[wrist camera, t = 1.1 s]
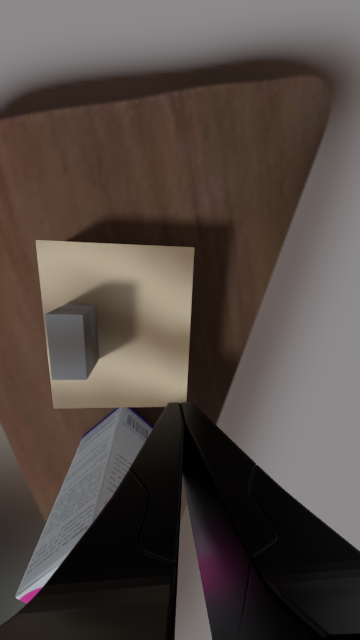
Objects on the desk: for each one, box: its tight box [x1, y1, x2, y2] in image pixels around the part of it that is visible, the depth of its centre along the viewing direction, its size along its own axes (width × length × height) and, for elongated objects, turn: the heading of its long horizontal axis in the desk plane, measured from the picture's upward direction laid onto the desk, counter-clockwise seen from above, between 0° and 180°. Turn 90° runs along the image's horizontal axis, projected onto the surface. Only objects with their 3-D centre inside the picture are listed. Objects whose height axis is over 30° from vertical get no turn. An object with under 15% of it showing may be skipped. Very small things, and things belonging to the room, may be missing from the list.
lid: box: [36, 240, 194, 409], centre depth 16 cm, size 12×10×4 cm
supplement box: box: [16, 407, 153, 603], centre depth 18 cm, size 6×6×12 cm
